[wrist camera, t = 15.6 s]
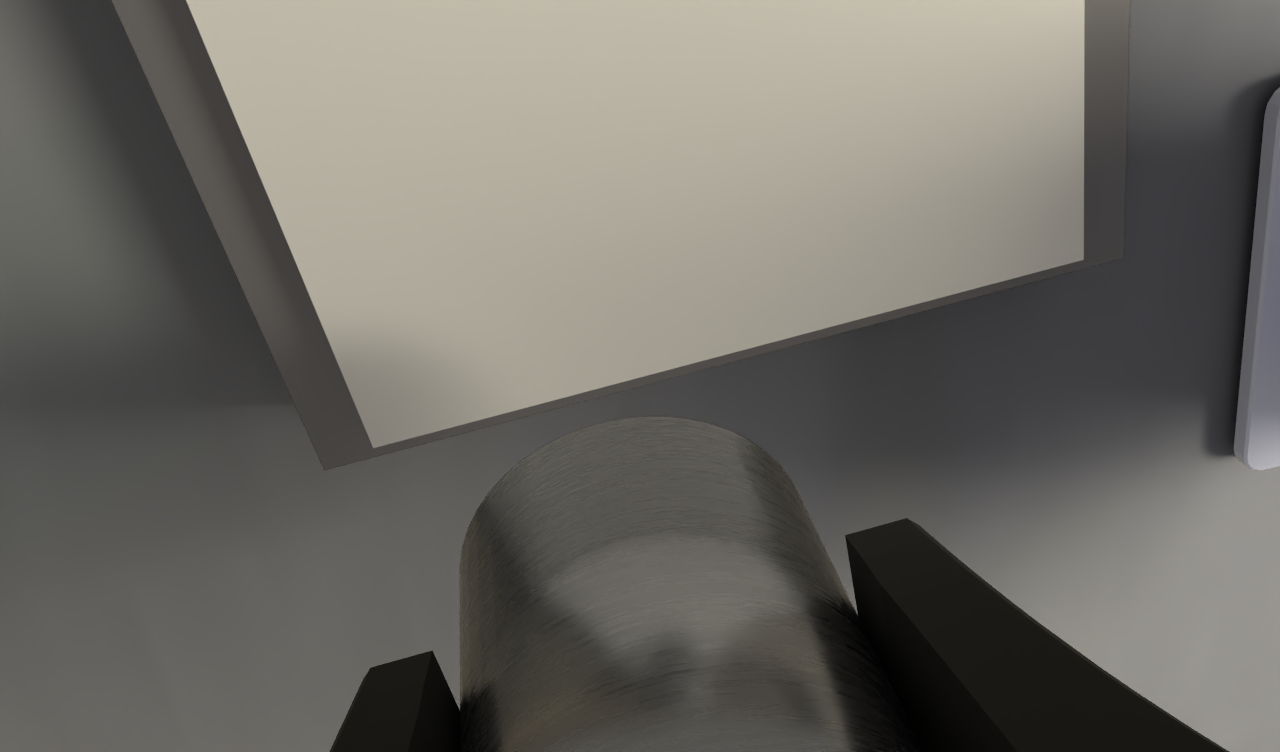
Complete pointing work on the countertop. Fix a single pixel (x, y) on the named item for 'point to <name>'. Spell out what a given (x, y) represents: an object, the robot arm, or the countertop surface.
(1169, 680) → the countertop surface
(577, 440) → the cylinder
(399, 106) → the kitchen scale
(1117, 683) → the robot arm
